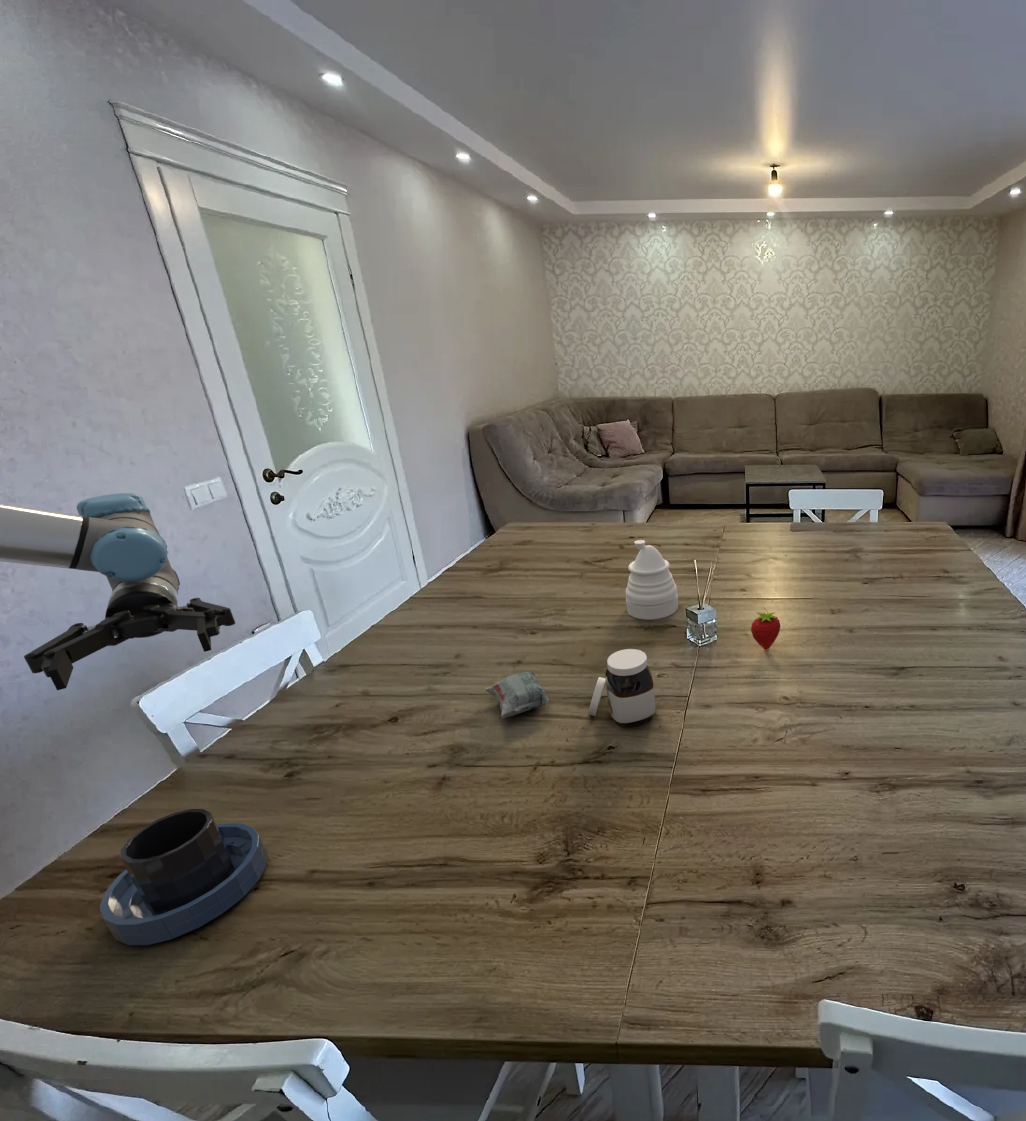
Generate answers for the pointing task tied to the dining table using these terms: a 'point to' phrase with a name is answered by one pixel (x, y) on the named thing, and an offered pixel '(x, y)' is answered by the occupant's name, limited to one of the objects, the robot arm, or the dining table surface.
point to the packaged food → (518, 694)
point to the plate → (142, 928)
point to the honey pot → (650, 585)
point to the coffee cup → (177, 859)
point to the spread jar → (626, 688)
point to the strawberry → (765, 629)
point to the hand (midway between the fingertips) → (134, 660)
